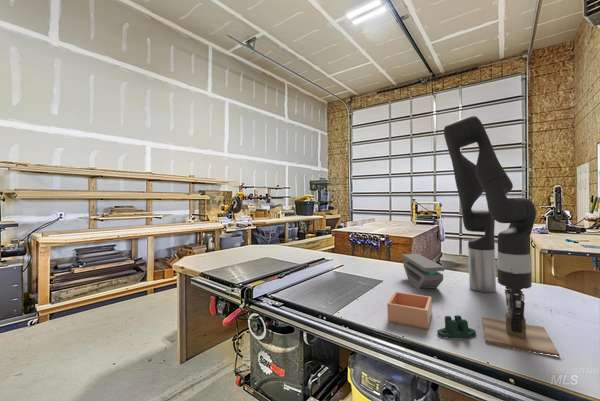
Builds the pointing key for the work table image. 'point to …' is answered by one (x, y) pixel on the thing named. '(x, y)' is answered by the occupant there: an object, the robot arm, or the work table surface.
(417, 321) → the open storage bin
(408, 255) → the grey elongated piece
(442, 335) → the mount
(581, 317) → the work table surface
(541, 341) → the lid
